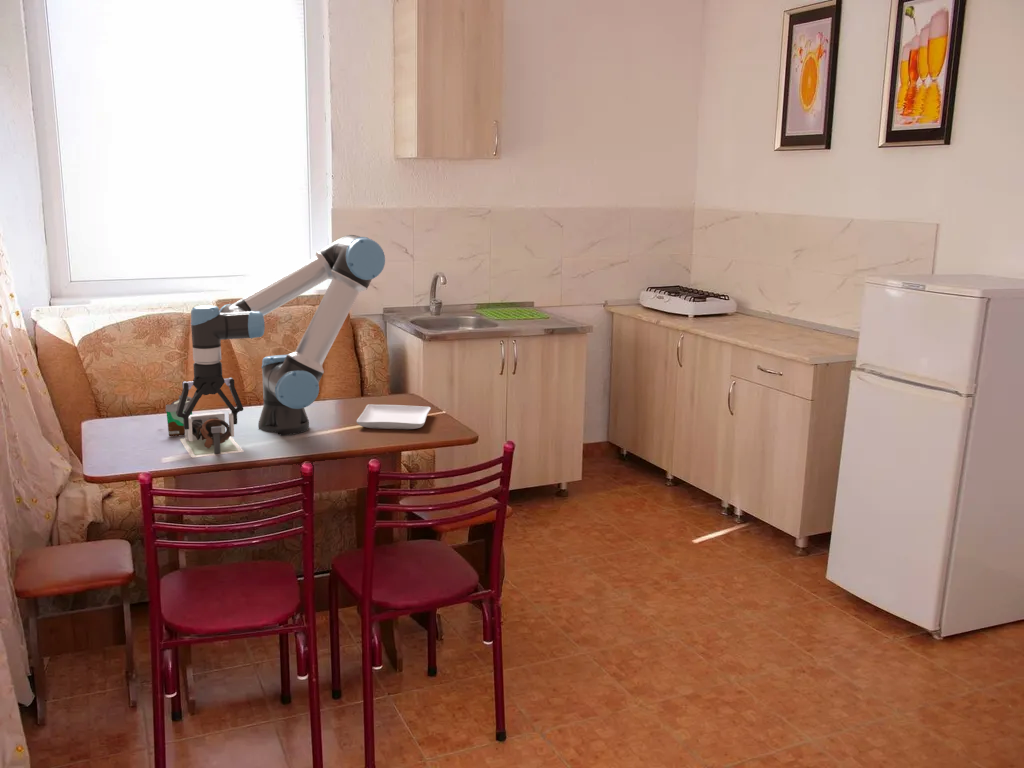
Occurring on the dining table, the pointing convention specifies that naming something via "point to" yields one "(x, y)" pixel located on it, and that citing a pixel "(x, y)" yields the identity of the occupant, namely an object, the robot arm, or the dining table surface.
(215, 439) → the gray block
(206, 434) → the pottery mug
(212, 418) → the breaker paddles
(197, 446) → the stand
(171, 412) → the food container
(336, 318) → the robot arm
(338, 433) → the dining table surface
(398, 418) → the salad plate
